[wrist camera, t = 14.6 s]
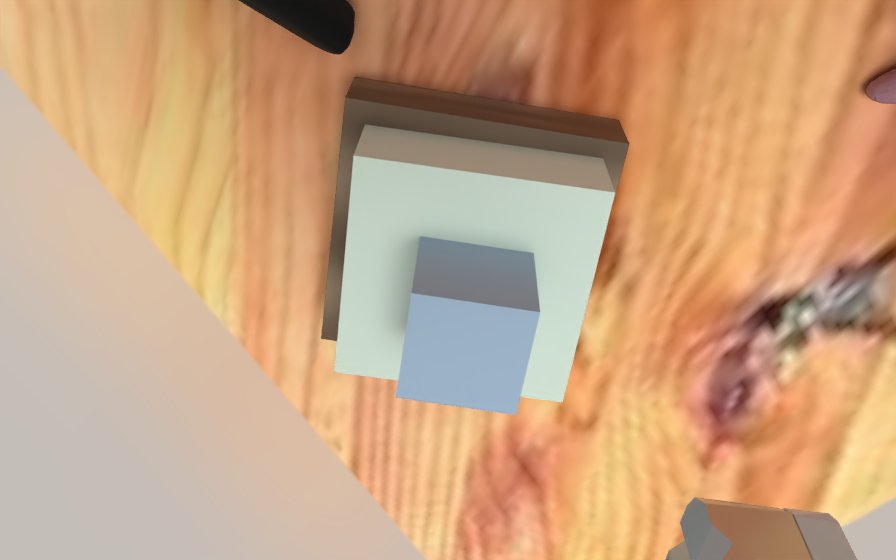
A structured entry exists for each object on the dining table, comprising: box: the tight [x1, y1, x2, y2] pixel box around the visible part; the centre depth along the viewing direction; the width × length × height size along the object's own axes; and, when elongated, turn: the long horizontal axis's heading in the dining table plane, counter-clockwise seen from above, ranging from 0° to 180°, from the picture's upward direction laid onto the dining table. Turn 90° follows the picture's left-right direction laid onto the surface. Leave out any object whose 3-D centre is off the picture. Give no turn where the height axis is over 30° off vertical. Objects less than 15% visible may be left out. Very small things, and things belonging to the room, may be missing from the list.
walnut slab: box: [321, 77, 629, 341], centre depth 43 cm, size 13×13×4 cm
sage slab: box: [334, 124, 615, 402], centre depth 40 cm, size 11×11×4 cm
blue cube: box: [396, 236, 540, 415], centre depth 36 cm, size 5×5×5 cm
